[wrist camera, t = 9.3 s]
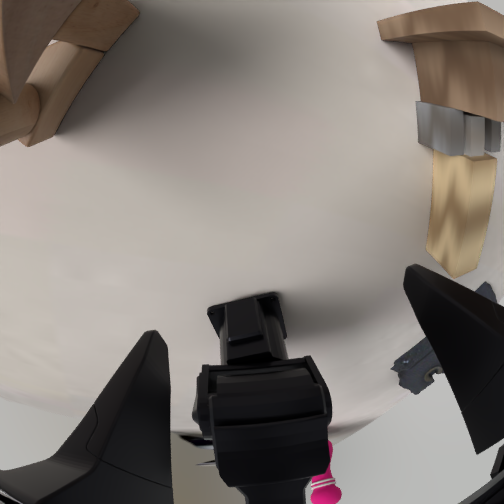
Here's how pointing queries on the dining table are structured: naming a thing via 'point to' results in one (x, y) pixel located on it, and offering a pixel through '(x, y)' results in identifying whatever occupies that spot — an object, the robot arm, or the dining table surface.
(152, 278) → the dining table surface
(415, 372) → the dark slate chunk
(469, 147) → the tan oblong piece
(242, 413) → the robot arm
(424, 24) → the brown boxy piece
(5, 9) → the wooden block
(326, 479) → the pepper mill
